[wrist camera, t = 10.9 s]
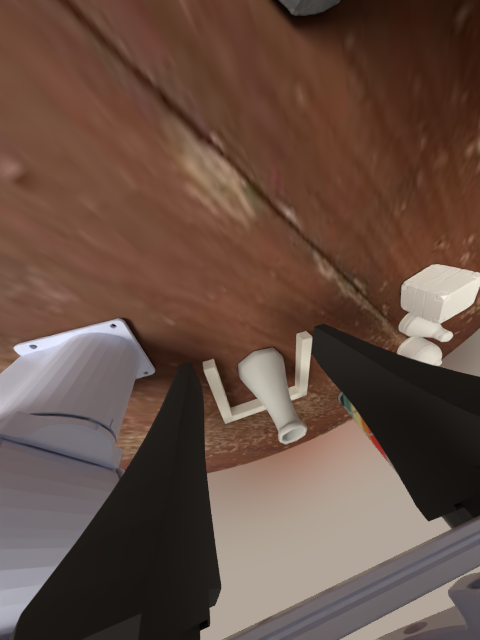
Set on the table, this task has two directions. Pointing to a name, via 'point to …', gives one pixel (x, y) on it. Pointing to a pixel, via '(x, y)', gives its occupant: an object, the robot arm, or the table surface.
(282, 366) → the flask
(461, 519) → the lotion bottle
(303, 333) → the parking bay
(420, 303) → the container set
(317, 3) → the moka pot
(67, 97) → the table surface
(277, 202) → the table surface
